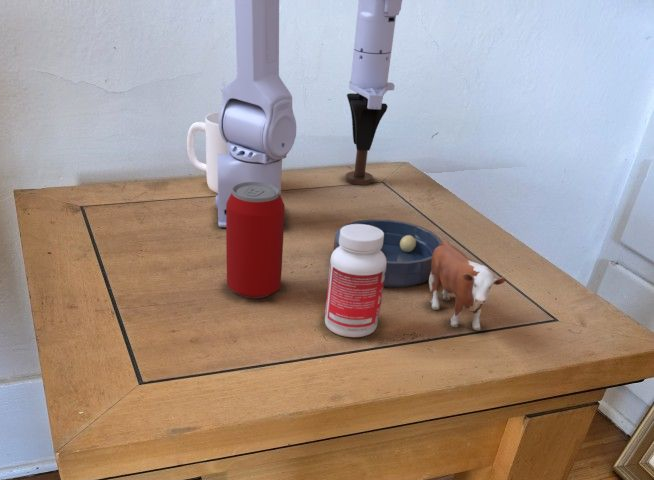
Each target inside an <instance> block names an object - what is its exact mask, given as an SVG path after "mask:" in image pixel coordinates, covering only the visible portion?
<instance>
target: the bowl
mask: <svg viewBox="0 0 654 480" xmlns="http://www.w3.org/2000/svg"><path fill="white" fill-rule="evenodd" d="M351 224H365V225H370V226H374V227H377V228H379V229H380V230H382V231H383V233H384V240H383V246H382V248H381V249H380V250H381V251H382V252H383V254H384V255H385V257H386V261H387V264H386V272H385V278H384V285H383V288H406V287H413V286H417V285H420V284H423V283H425V282H427V281H429V277H430V273H431V270H432V269H431V263H432V255H433V252H434V250H435V248H437V247H438V246H439V245H440V244H441V243H442V242H443V240H442V238H441V237H440V236H439V235H437V234H436V233H435V232H434V231H432V230H429V229H427V228H425V227H423V226H420V225H417V224H413V223H410V222H406V221H400V220H395V219H394V220H393V219H380V218H379V219H375V218H373V219H372V218H371V219H364V220H356V221H353V222H349V223H346V224H344V225H343V226H341V227H340V228H338V229H337V230H336V233H335V234H334V238H333V239H334V241H333V249H332V252H333V251H334V250H335V249H336V248H338V247H339V246H340V245H339V237H340V230H341V228H342V227H344V226H346V225H351ZM406 235H410V236H413V237H414V238H415V240H416V247H415V248H414V250H413V251H411V252H404V251H403V250H402V249H401V248H400V241H401V239H402V238H403V237H404V236H406Z"/></svg>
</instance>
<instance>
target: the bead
mask: <svg viewBox="0 0 654 480" xmlns="http://www.w3.org/2000/svg"><path fill="white" fill-rule="evenodd" d="M415 247H416V240H415V238H414V237H413V236H410V235H406V236H404V237H403V238H402V239H401V241H400V248H401V249H402V250H403V251H404V252H411V251H413V250H414V248H415Z"/></svg>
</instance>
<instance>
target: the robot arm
mask: <svg viewBox="0 0 654 480" xmlns="http://www.w3.org/2000/svg"><path fill="white" fill-rule="evenodd" d="M402 4H403V0H358V4H357V14H356V25H355V35H354V43H353V54H352V63H351V74H350V80H349V82H348V89H350V90H351V91H353V92H354V93H352V92H350V93H347V94H346V97H347V100H348V104H349V109H350V115H351V125H352V127H351V129H352V138H353V144H354V145H355V148H356V151H357V150H363V151H370V150H371V147H372V144H373V142H374V138H375V136H376V133H377V129H378V126H379V125H380V122H381V120H382V119H383V117H384V115H385V113H386V112H387V110H388V107H389V106H388V105H387V103H384V102H383V100H384V96H385V94H387V92H388V91H394V90H395V84H394V83H393V82H388V81H389V73H390V66H391V58H392V50H393V42H394V35H395V29H396V28H395V27H396V21H397V16H399V15H400V11H402ZM234 18H235V19H234V20H235V22H234V23H235V44H236V45H235V47H236V48H235V49H236V76H235V77H234V78H233V79H231V81H229V82H228V83H227V84H226V85H225V86H224V87H223V88H222V90H221V93H222V101H221V102H222V103H221V108H220V111H221V112H220V111H219V112H220V116H219V130H220V134H221V136H222V138H223V140H224V141H225V142H226V143H227V151H228V152H230V153H227V154H218V193H217V194H216V195H215V210H217V217H218V219H217V222H218V227H219V228H226V203H227V201H228V199H229V197H230V195H231V193H232V189H233V187H234V186H235V185H237V184H240V183H244V182H263V183H268V184H271V185H274V186H276V187H277V188H278V189H279V194H280V196H281V197H282V195H281V193H282V173H283V172H282V171H283V159H286V158H287V155H289V153H290V151H291V149H292V148H293V146H294V143H295V141H296V136H297V120H296V117H295V114H294V111H293V95H292V93H291V92H290V90H289V89H288V87H287V86H286V84H285V83H284V81H283V80H282V78H281V76H280V0H234Z"/></svg>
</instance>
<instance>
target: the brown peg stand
mask: <svg viewBox="0 0 654 480" xmlns="http://www.w3.org/2000/svg"><path fill="white" fill-rule="evenodd" d="M367 159H368V151H363V150H357V149H356V153H355V163H354V170H353V171H348V172H347V173H345V181H346V182H347V183H349V184H352V185H356V186H366V185H370V184H372V183H373V180H374V176H373V174H371V173H369V172H366V168H367V162H368V161H367Z"/></svg>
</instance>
